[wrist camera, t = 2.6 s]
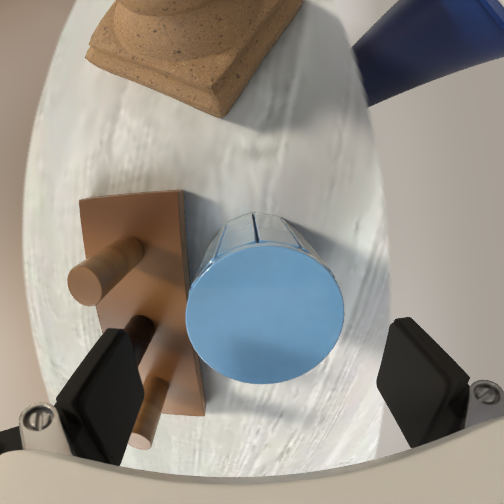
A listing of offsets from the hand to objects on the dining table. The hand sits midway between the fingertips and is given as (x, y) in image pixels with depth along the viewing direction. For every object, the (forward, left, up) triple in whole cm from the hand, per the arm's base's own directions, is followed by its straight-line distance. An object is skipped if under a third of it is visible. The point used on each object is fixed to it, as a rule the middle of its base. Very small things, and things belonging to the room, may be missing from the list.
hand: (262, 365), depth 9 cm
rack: (+9, +1, -10) cm, 13 cm away
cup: (0, 0, -10) cm, 10 cm away
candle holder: (-2, -17, -11) cm, 20 cm away
